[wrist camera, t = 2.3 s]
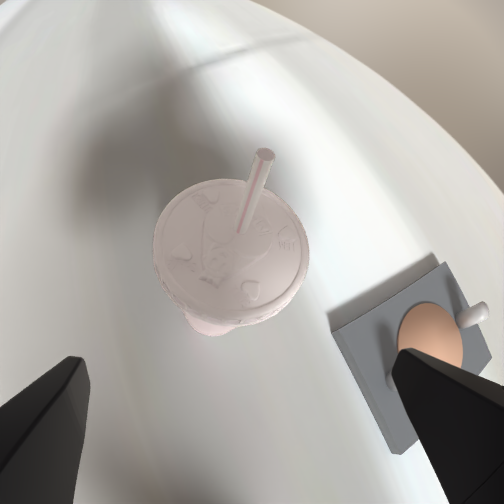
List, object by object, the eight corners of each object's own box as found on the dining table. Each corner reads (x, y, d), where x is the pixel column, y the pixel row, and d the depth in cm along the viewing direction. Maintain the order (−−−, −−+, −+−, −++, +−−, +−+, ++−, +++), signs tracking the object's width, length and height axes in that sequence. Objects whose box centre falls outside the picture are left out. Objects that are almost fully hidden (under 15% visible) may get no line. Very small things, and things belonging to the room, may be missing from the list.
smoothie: (273, 291, 22) (377, 154, 10) (234, 373, 19) (327, 322, 7) (193, 250, 22) (214, 78, 10) (146, 326, 19) (90, 198, 7)
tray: (391, 453, 18) (427, 457, 14) (331, 333, 22) (360, 317, 18) (483, 360, 23) (514, 349, 19) (437, 266, 27) (465, 246, 23)
